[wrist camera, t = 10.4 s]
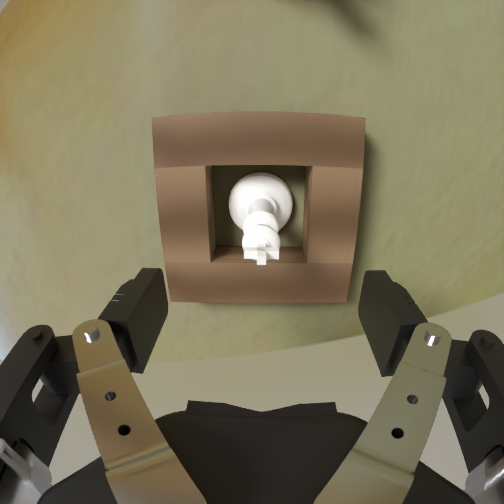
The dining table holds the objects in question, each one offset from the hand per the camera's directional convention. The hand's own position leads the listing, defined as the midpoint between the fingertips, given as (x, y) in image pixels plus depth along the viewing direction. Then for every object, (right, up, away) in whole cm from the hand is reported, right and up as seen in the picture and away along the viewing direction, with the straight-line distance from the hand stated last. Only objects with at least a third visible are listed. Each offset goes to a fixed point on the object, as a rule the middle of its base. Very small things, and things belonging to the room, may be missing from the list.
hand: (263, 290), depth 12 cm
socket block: (0, +5, +11) cm, 13 cm away
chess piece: (0, +5, +12) cm, 13 cm away
